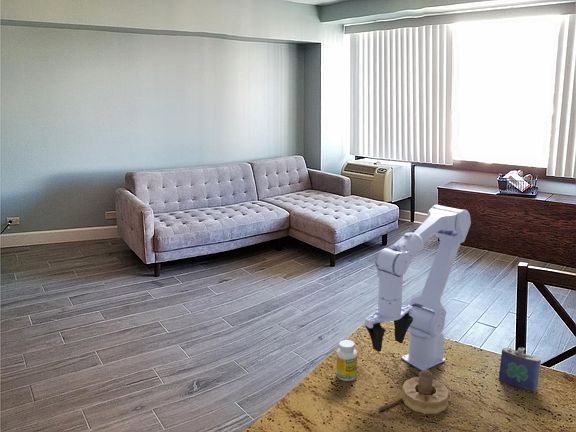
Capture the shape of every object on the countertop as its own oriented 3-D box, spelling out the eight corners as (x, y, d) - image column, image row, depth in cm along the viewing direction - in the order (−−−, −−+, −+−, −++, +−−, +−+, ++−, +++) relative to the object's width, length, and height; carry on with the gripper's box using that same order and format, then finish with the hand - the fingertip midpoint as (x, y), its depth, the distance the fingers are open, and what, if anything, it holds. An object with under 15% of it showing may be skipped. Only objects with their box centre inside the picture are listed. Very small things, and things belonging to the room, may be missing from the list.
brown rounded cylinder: (420, 394, 125) (422, 365, 123) (433, 398, 123) (434, 369, 121) (415, 400, 122) (417, 371, 120) (428, 405, 120) (430, 375, 118)
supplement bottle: (347, 368, 137) (348, 336, 134) (361, 377, 132) (361, 344, 130) (332, 374, 134) (332, 342, 131) (345, 384, 130) (345, 350, 127)
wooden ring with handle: (423, 382, 129) (423, 372, 129) (456, 403, 121) (457, 392, 120) (372, 406, 120) (372, 395, 119) (404, 430, 112) (404, 419, 111)
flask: (538, 389, 126) (542, 351, 123) (535, 395, 124) (539, 356, 121) (500, 377, 132) (503, 340, 129) (496, 382, 129) (500, 344, 127)
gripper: (399, 284, 131) (397, 332, 135) (357, 297, 124) (356, 347, 127) (419, 293, 126) (417, 342, 129) (376, 307, 118) (375, 359, 121)
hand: (388, 345), depth 128 cm, fingers open, 7 cm apart
